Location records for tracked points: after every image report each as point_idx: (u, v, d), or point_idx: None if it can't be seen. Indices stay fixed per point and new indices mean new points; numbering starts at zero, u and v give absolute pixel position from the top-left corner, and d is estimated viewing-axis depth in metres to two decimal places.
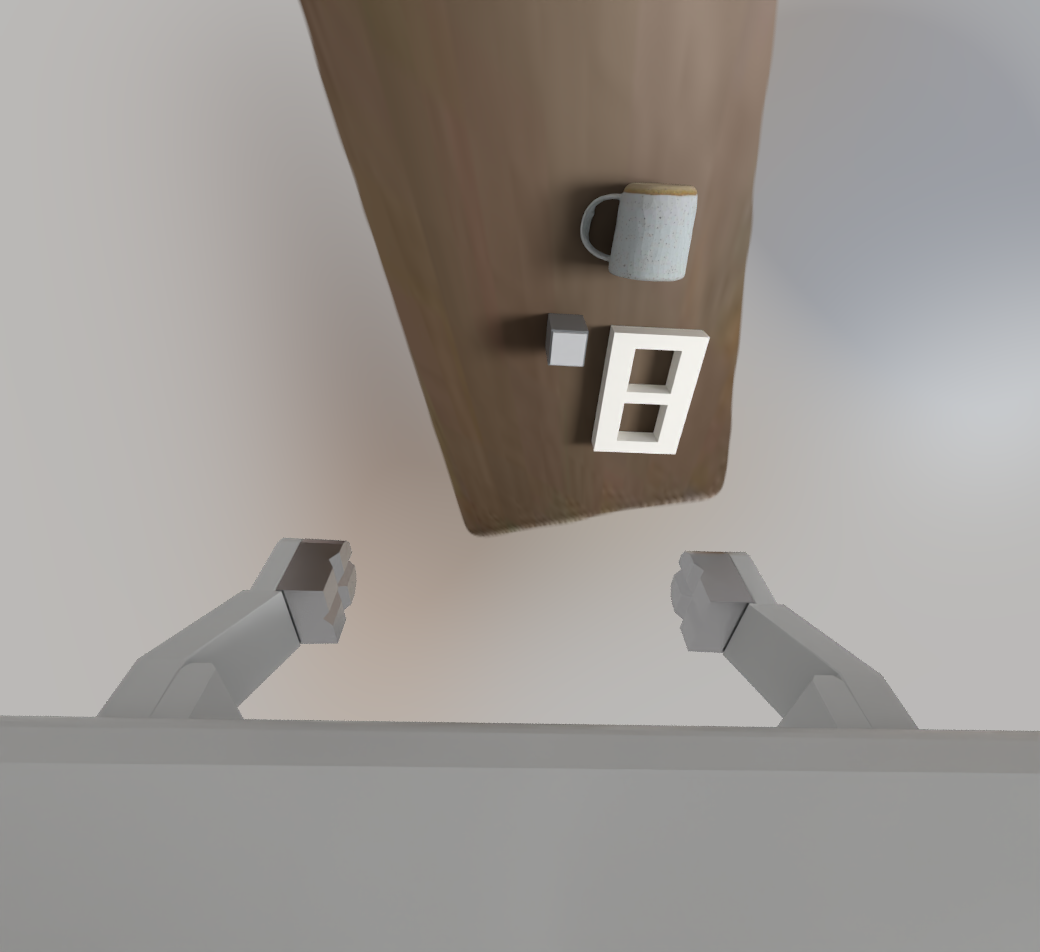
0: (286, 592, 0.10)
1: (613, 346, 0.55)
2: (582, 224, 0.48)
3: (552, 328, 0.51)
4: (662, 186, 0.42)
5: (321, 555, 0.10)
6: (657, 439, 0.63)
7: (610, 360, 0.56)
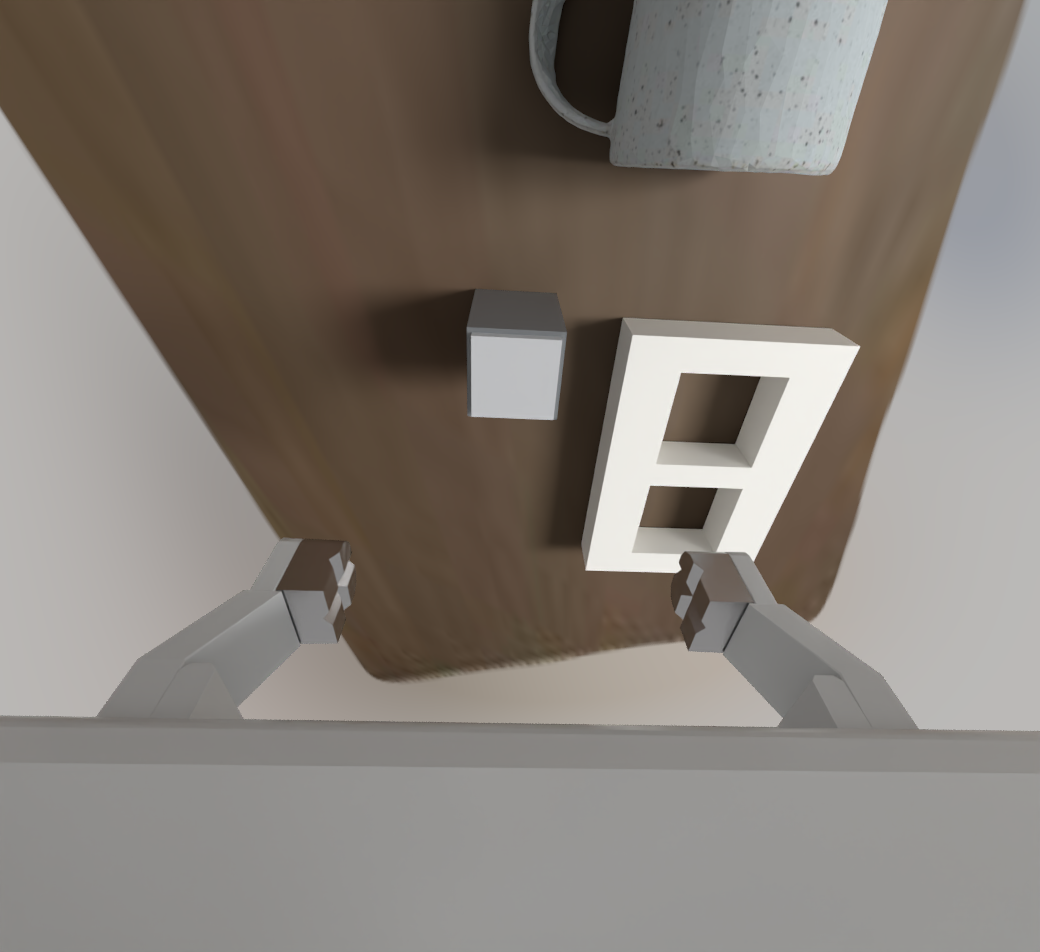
0: (286, 592, 0.10)
1: (629, 367, 0.23)
2: (534, 22, 0.17)
3: (470, 324, 0.19)
4: None
5: (321, 555, 0.10)
6: (713, 548, 0.31)
7: (621, 399, 0.24)
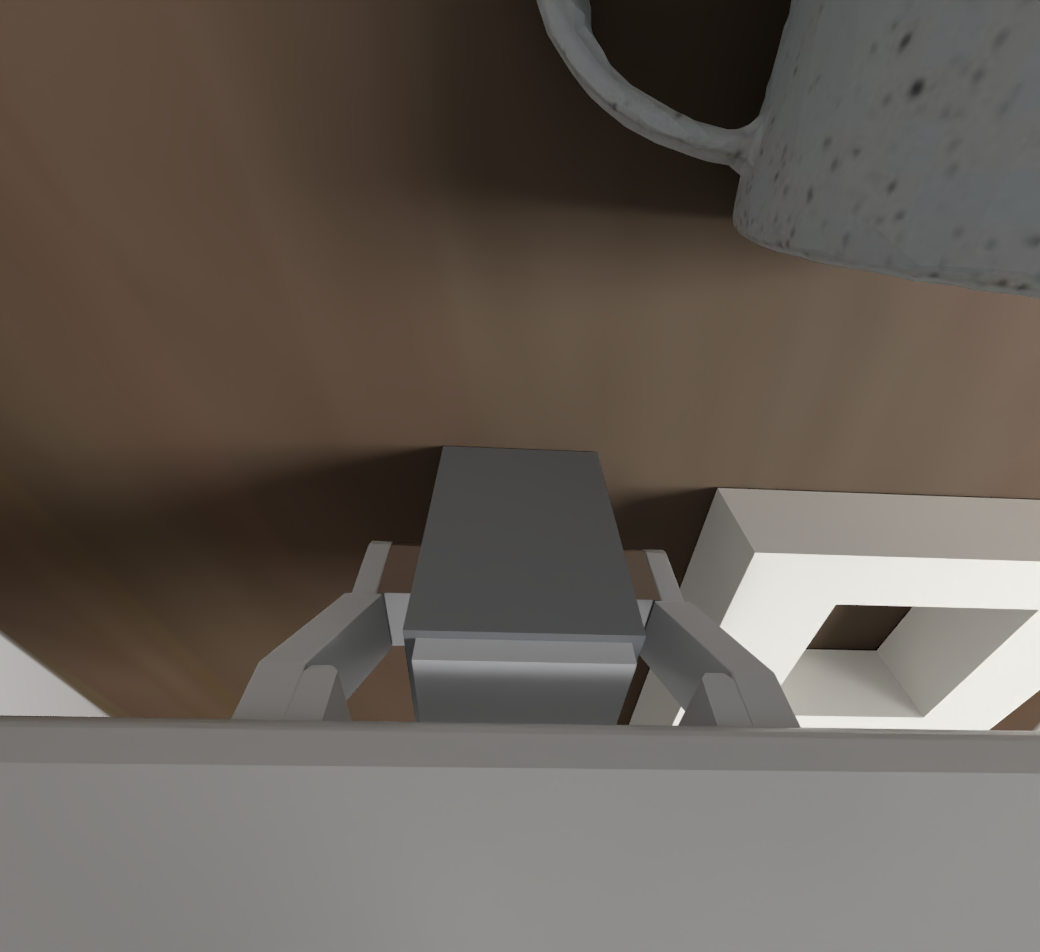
0: (387, 595, 0.10)
1: (739, 598, 0.12)
2: None
3: (414, 615, 0.08)
4: None
5: (414, 558, 0.10)
6: None
7: None
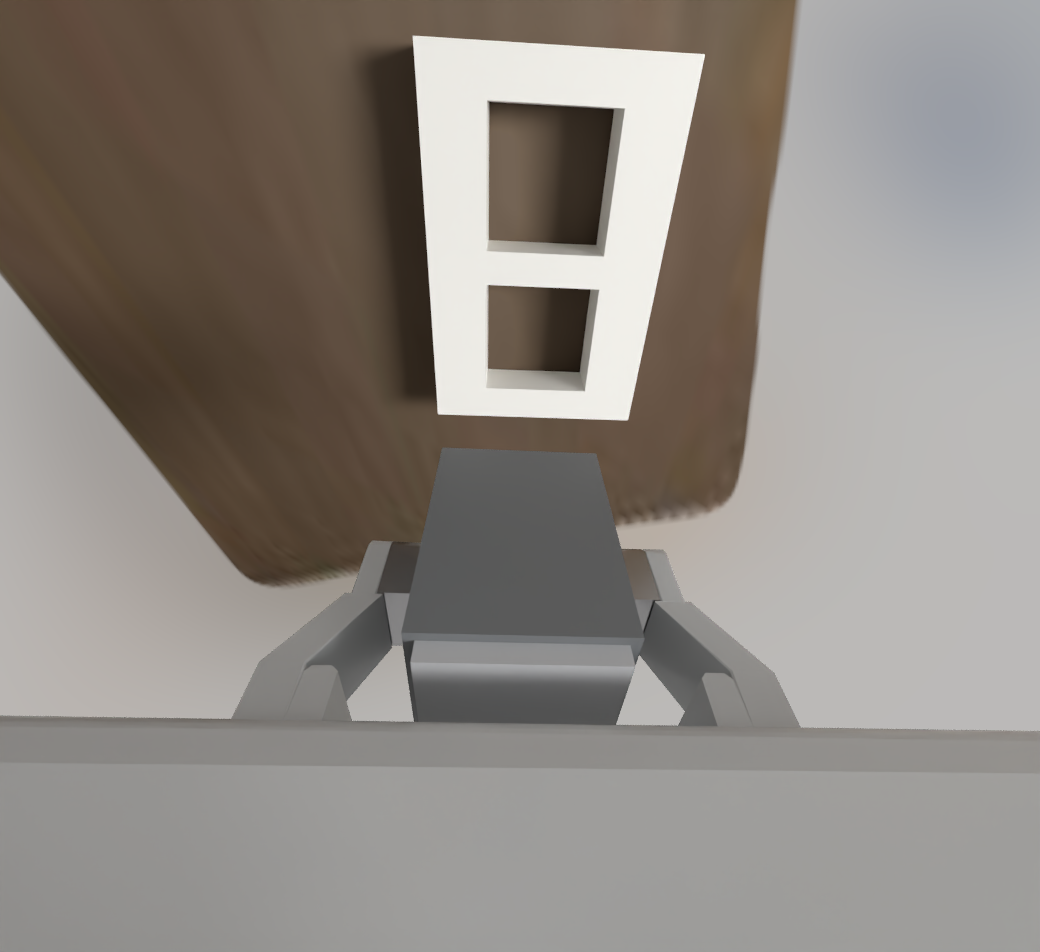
0: (387, 595, 0.10)
1: (420, 92, 0.19)
2: None
3: (413, 617, 0.08)
4: None
5: (414, 558, 0.10)
6: (584, 385, 0.27)
7: (422, 145, 0.20)
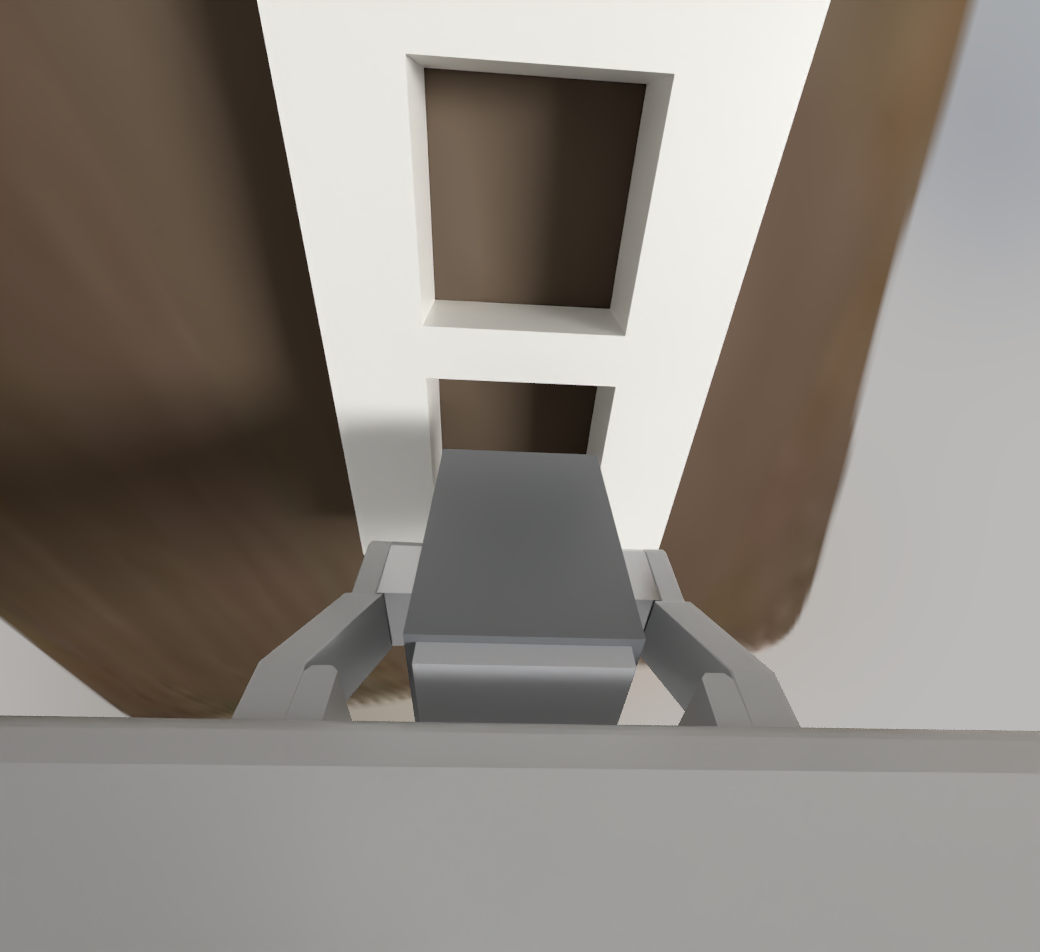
0: (387, 595, 0.10)
1: (271, 34, 0.09)
2: None
3: (414, 618, 0.08)
4: None
5: (414, 558, 0.10)
6: None
7: (289, 141, 0.10)
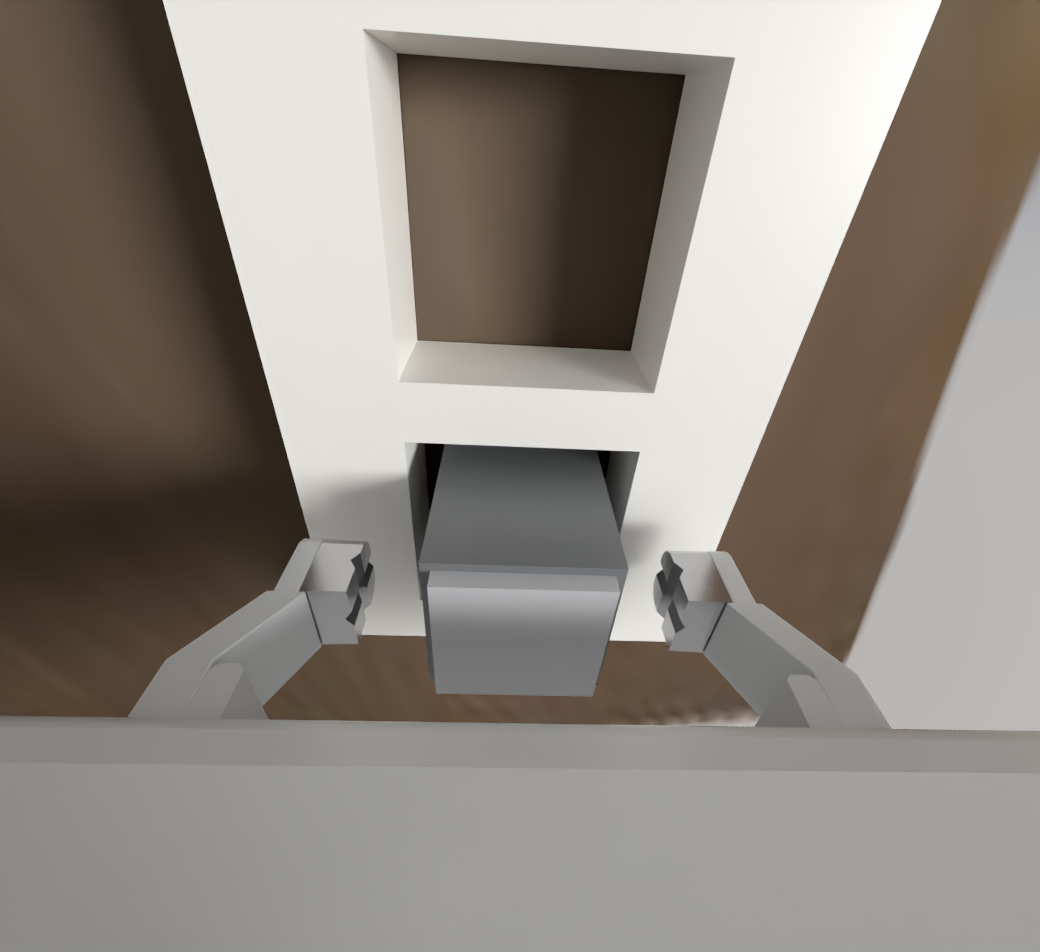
0: (309, 593, 0.10)
1: (173, 1, 0.07)
2: None
3: (428, 551, 0.09)
4: None
5: (343, 556, 0.10)
6: None
7: (210, 149, 0.08)
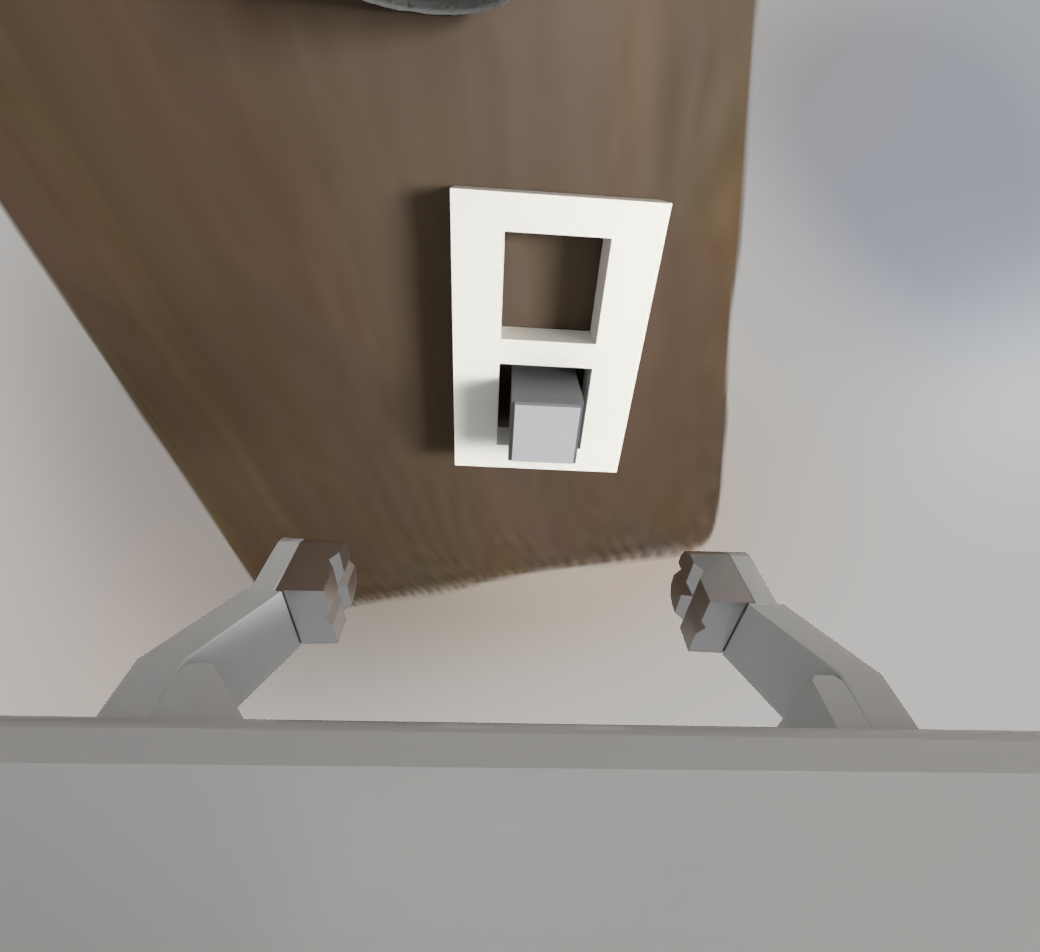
0: (286, 592, 0.10)
1: (453, 225, 0.24)
2: None
3: (514, 395, 0.26)
4: None
5: (321, 555, 0.10)
6: (579, 443, 0.32)
7: (453, 262, 0.25)
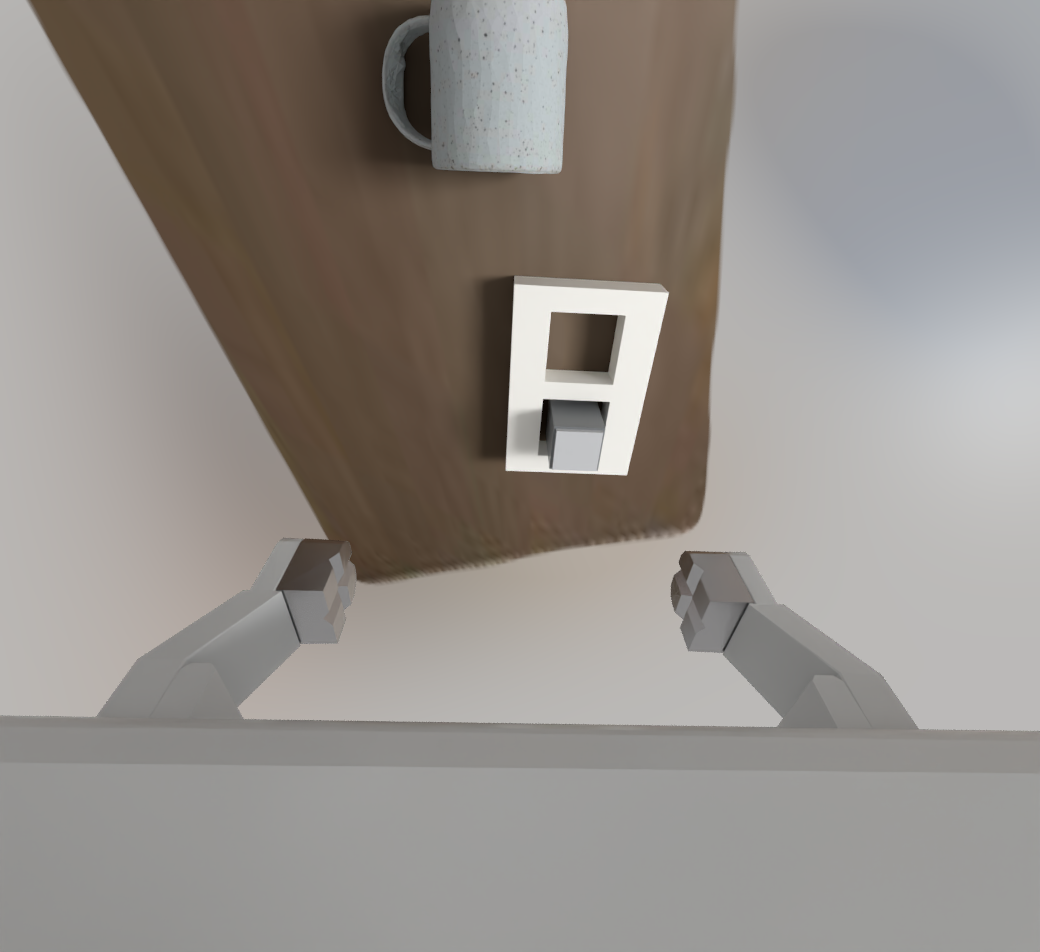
0: (286, 592, 0.10)
1: (515, 307, 0.34)
2: (384, 83, 0.28)
3: (555, 424, 0.37)
4: None
5: (321, 555, 0.10)
6: None
7: (513, 331, 0.35)
